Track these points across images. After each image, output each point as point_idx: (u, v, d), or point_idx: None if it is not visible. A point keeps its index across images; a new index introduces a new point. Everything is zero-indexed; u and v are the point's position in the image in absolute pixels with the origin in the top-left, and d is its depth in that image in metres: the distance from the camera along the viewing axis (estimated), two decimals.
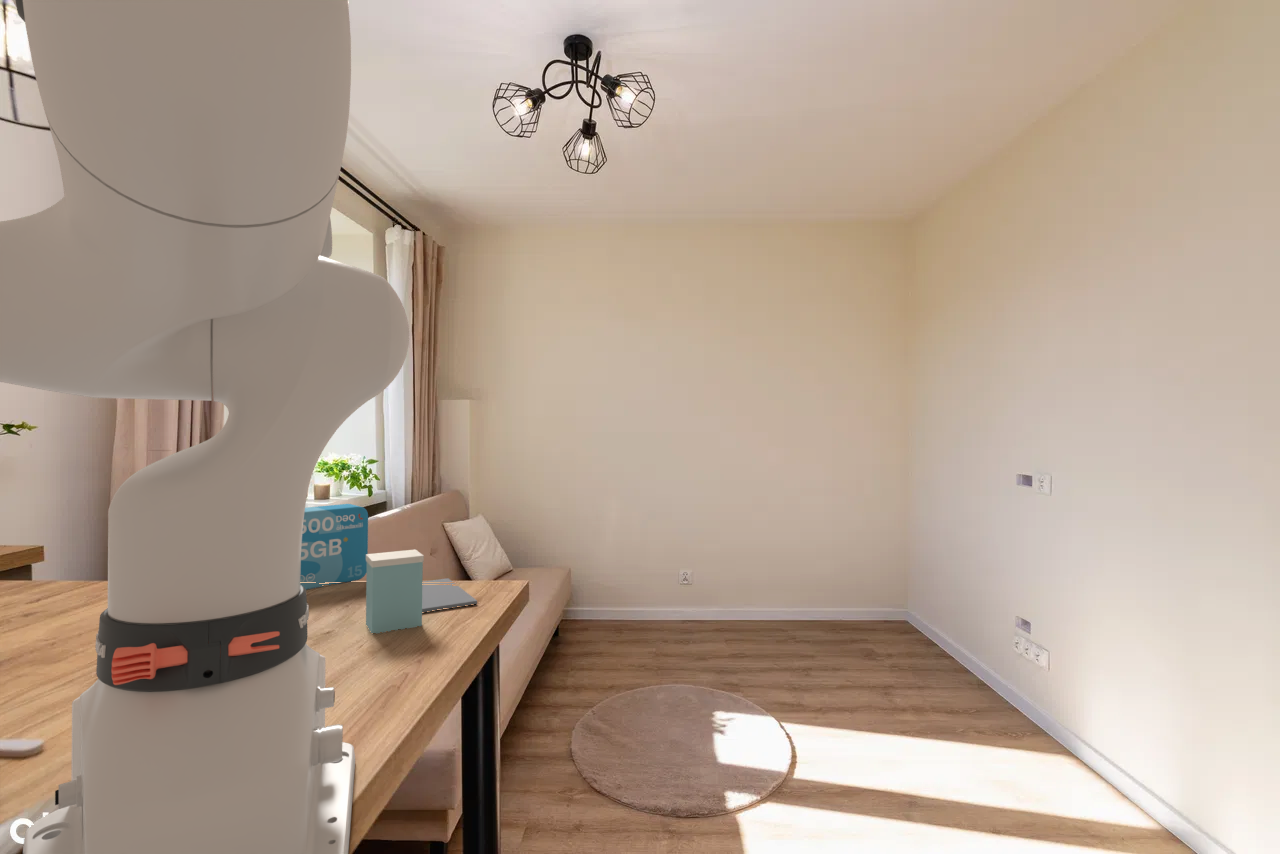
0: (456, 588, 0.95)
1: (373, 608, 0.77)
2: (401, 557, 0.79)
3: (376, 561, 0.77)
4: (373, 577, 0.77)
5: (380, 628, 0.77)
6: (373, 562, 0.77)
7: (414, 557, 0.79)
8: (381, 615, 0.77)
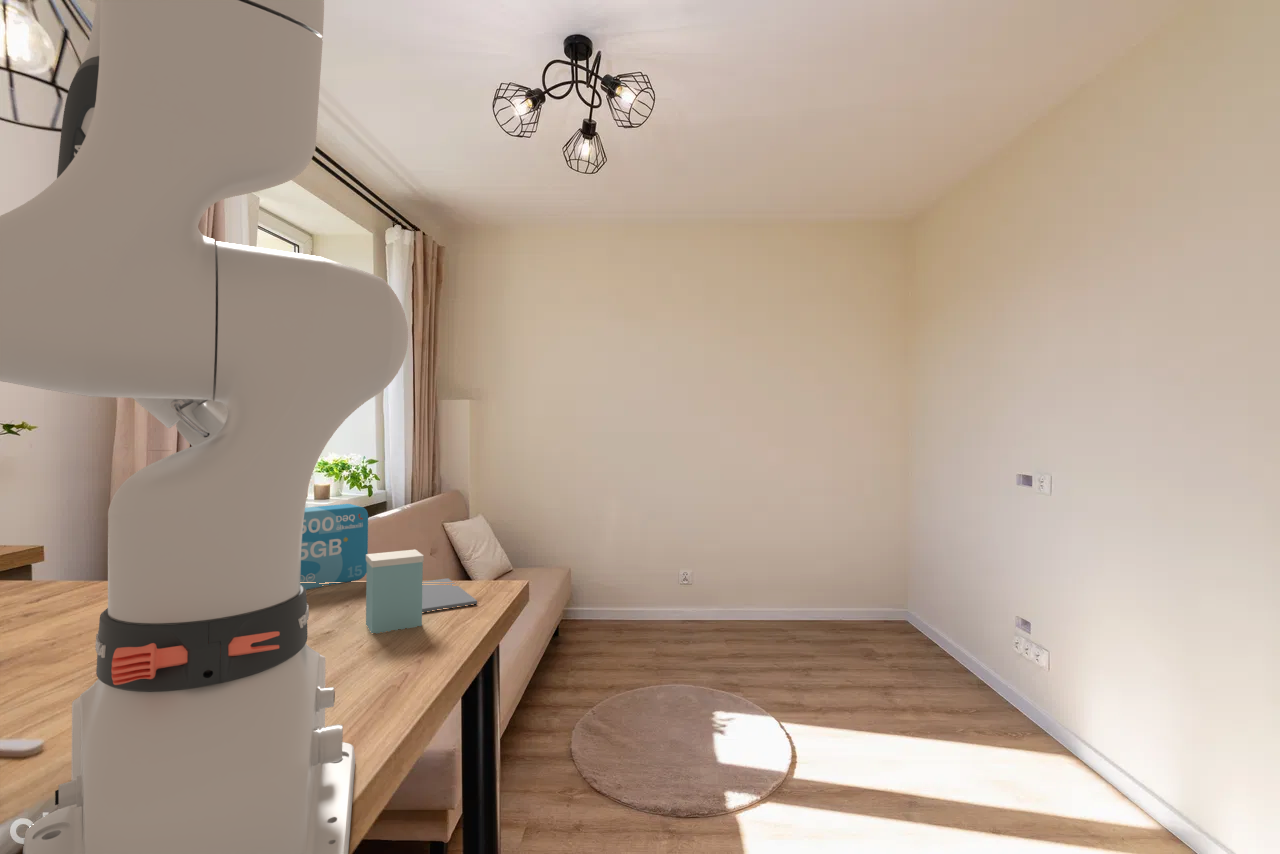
0: (456, 588, 0.95)
1: (373, 608, 0.77)
2: (401, 557, 0.79)
3: (376, 561, 0.77)
4: (373, 577, 0.77)
5: (380, 628, 0.77)
6: (373, 562, 0.77)
7: (414, 557, 0.79)
8: (381, 615, 0.77)
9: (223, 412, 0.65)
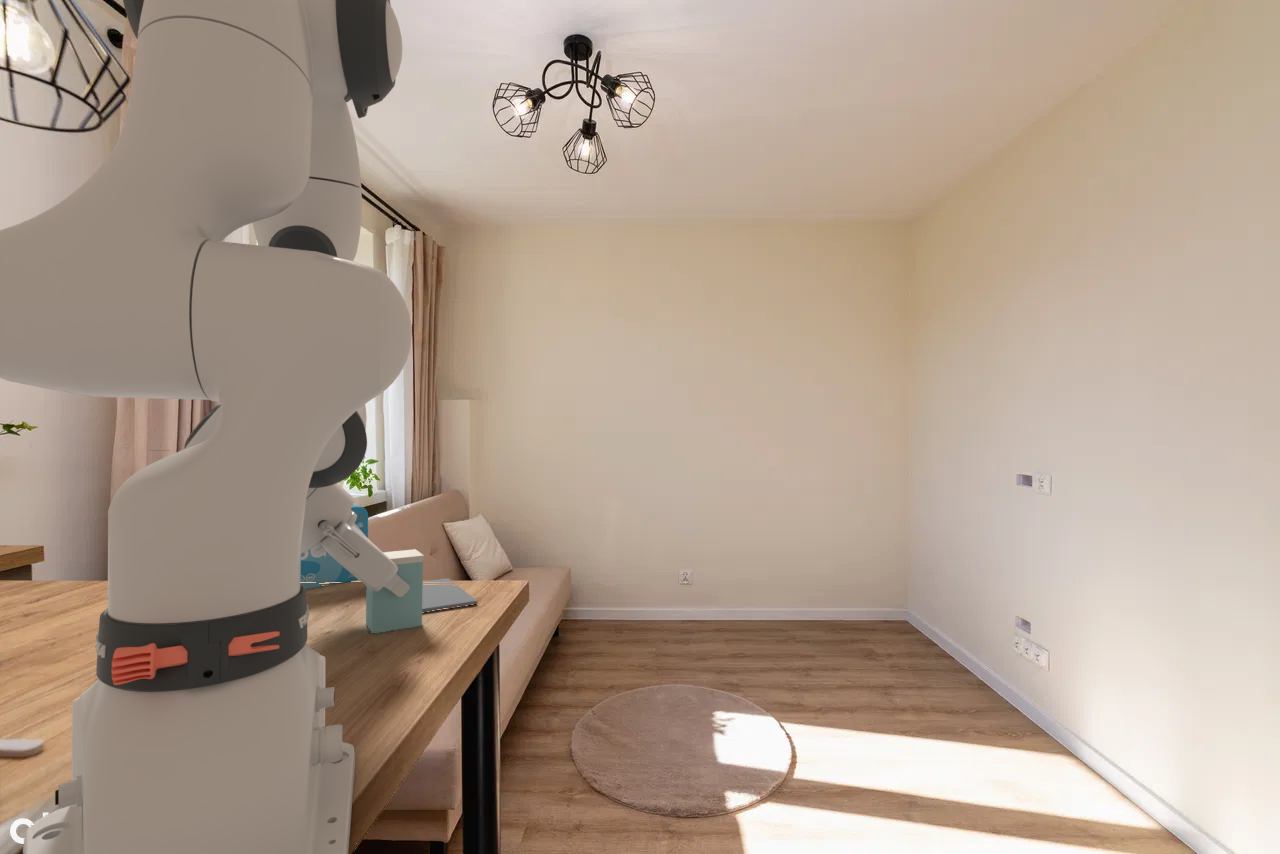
0: (456, 588, 0.95)
1: (373, 608, 0.77)
2: (401, 557, 0.79)
3: None
4: None
5: (380, 628, 0.77)
6: None
7: (414, 557, 0.79)
8: (381, 615, 0.77)
9: None
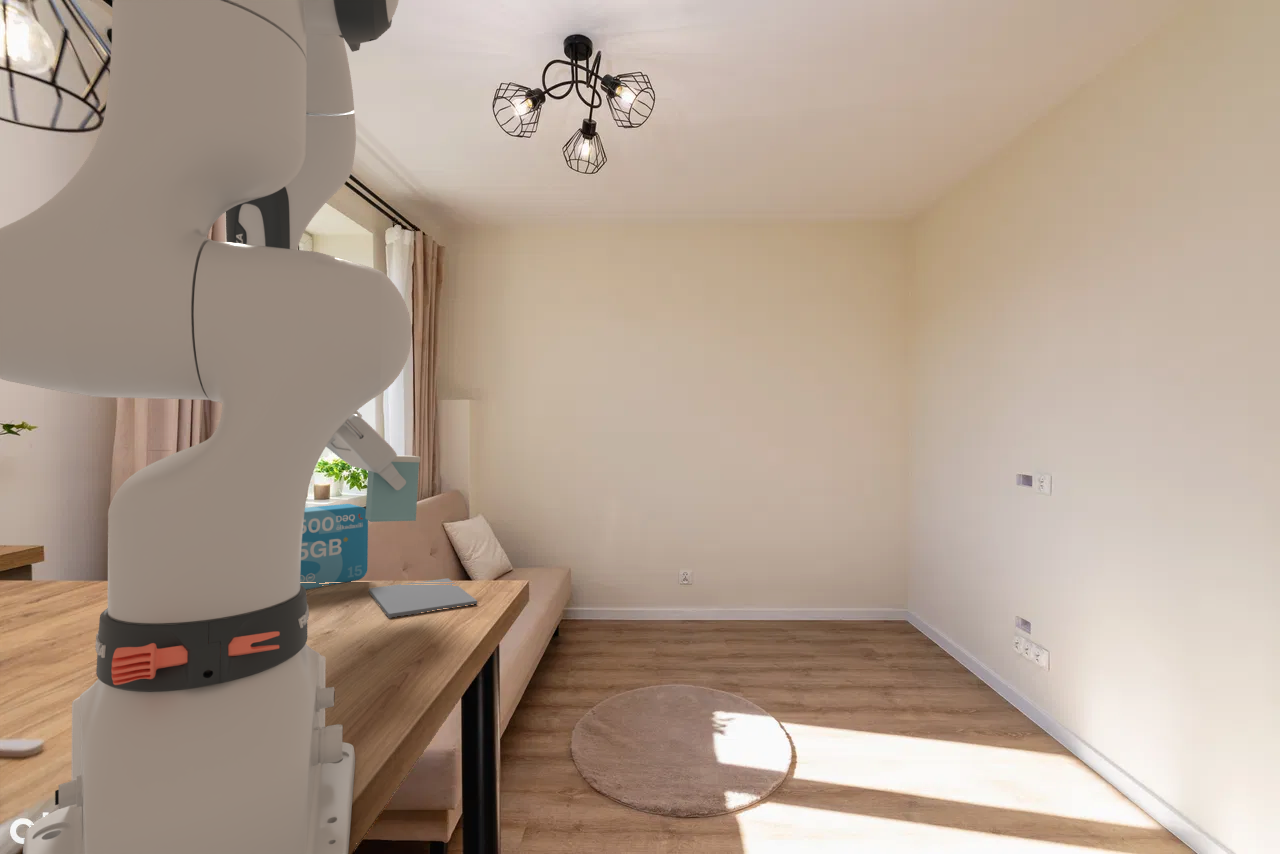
0: (456, 588, 0.95)
1: (373, 498, 0.86)
2: (400, 456, 0.88)
3: None
4: None
5: (378, 518, 0.86)
6: None
7: (411, 457, 0.88)
8: (380, 506, 0.86)
9: None
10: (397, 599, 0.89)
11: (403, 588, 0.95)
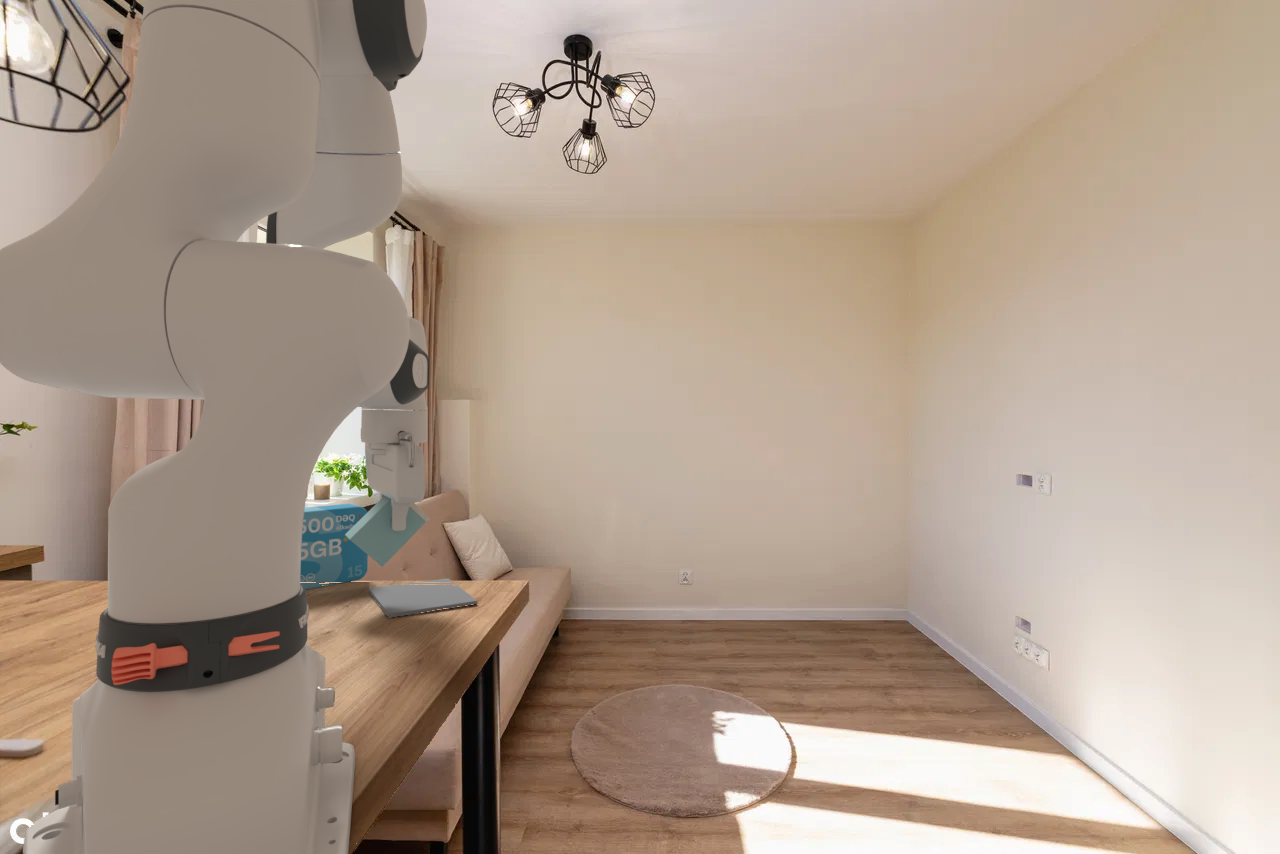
0: (456, 588, 0.95)
1: (368, 522, 0.86)
2: (416, 505, 0.89)
3: None
4: (389, 501, 0.87)
5: (358, 541, 0.85)
6: None
7: (424, 513, 0.90)
8: (367, 532, 0.86)
9: None
10: (397, 599, 0.89)
11: (403, 588, 0.95)
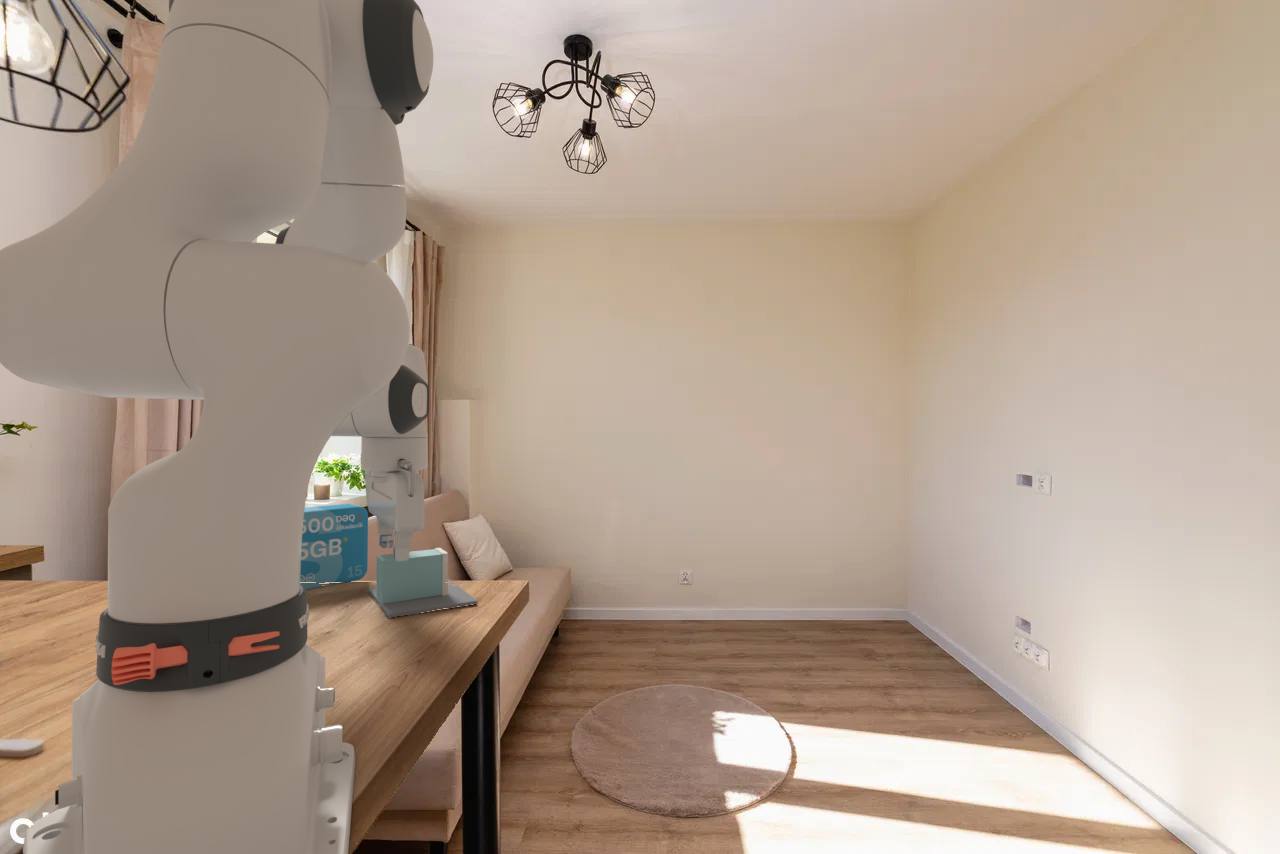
0: (456, 588, 0.95)
1: None
2: None
3: (447, 556, 0.92)
4: (433, 555, 0.91)
5: (385, 567, 0.87)
6: (446, 554, 0.92)
7: (447, 587, 0.92)
8: (398, 566, 0.88)
9: None
10: None
11: None
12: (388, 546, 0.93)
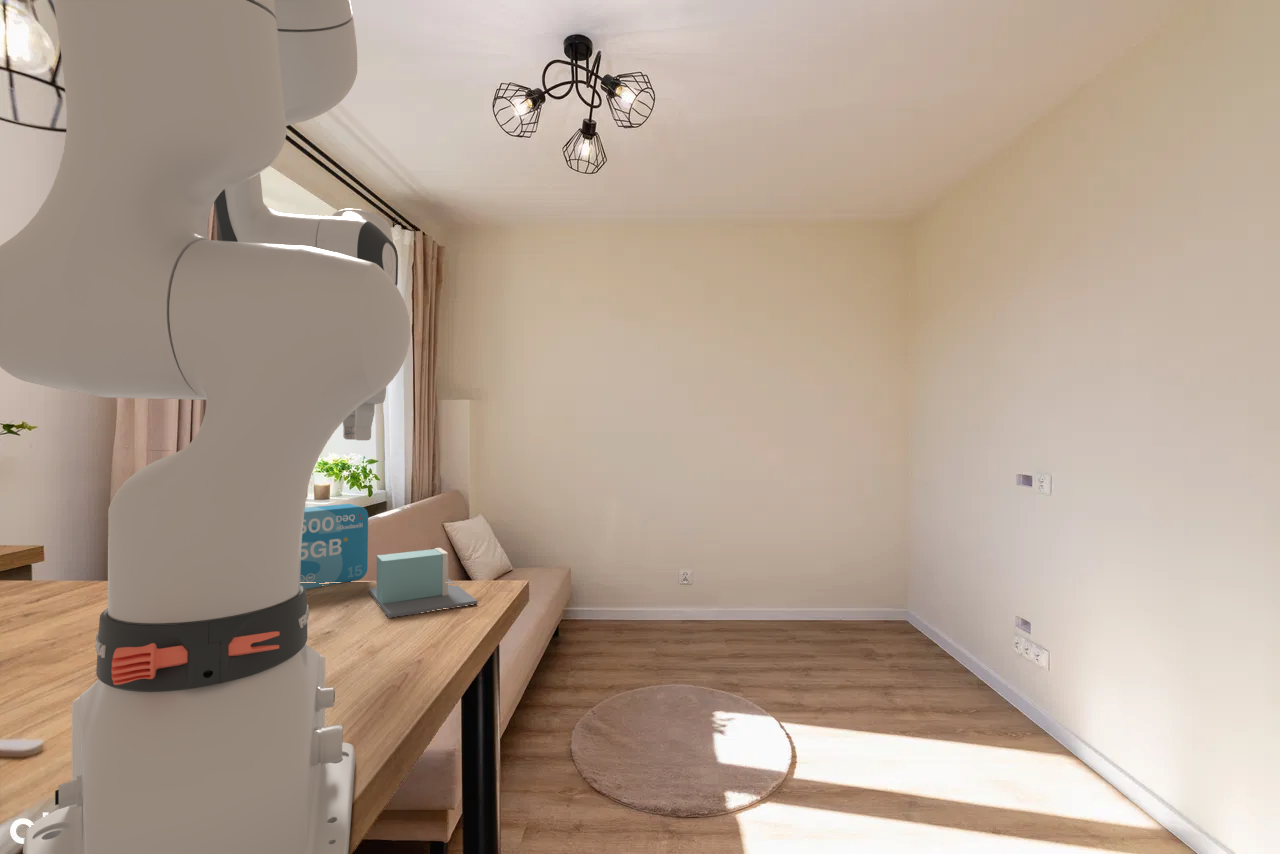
0: (456, 588, 0.95)
1: (406, 559, 0.88)
2: None
3: (447, 556, 0.92)
4: (433, 555, 0.91)
5: (385, 567, 0.87)
6: (446, 554, 0.92)
7: (447, 587, 0.92)
8: (398, 566, 0.88)
9: None
10: None
11: None
12: (352, 438, 0.87)
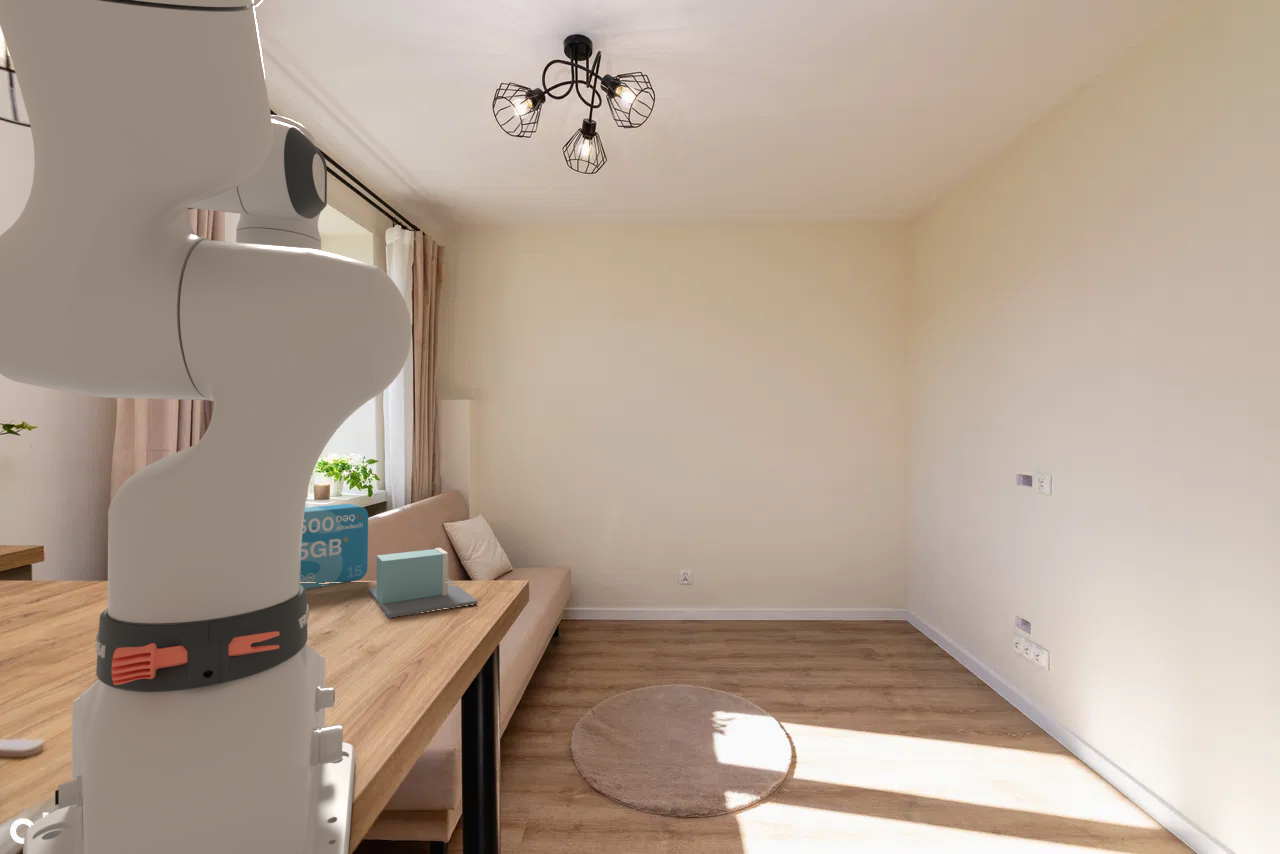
0: (456, 588, 0.95)
1: (406, 559, 0.88)
2: None
3: (447, 556, 0.92)
4: (433, 555, 0.91)
5: (385, 567, 0.87)
6: (446, 554, 0.92)
7: (447, 587, 0.92)
8: (398, 566, 0.88)
9: None
10: None
11: None
12: None
